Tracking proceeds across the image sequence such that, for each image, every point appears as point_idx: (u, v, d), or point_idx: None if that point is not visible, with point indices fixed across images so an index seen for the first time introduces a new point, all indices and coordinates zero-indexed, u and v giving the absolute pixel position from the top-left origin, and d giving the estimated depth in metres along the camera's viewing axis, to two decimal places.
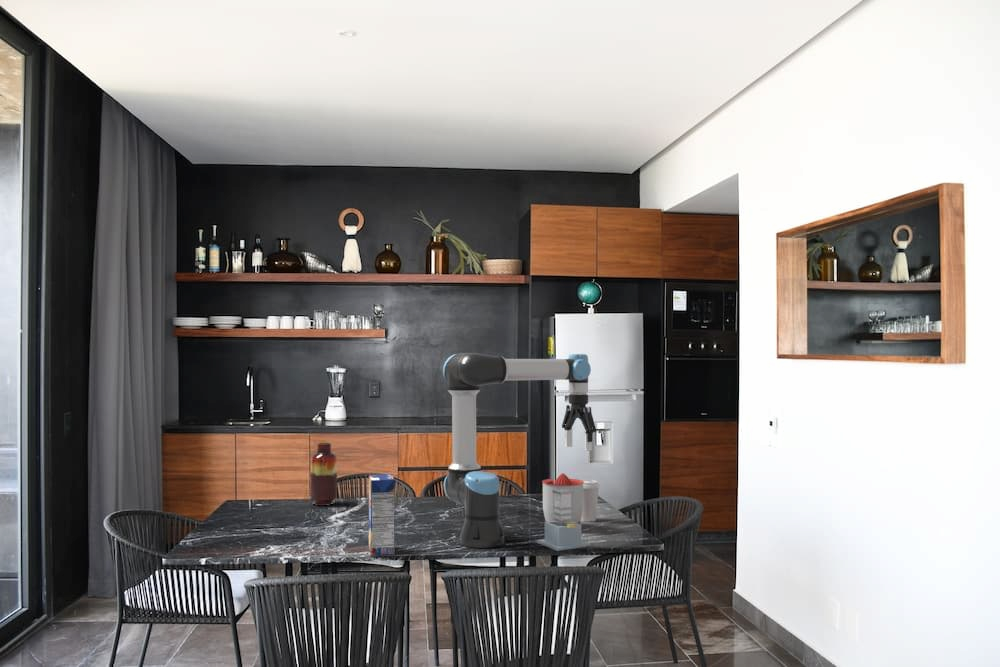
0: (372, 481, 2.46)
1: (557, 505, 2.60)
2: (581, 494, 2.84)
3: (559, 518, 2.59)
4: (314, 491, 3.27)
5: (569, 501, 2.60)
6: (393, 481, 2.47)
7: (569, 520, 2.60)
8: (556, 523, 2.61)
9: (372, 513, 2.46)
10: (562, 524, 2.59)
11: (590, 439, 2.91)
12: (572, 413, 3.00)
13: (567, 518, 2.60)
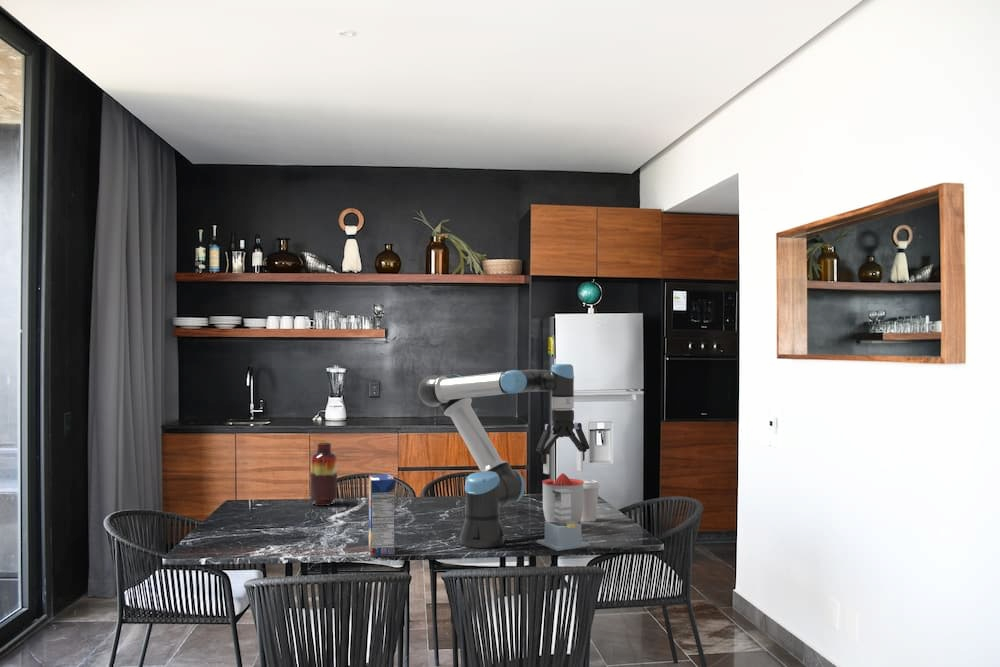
0: (372, 481, 2.46)
1: (557, 505, 2.60)
2: (581, 494, 2.84)
3: (559, 518, 2.59)
4: (314, 491, 3.27)
5: (569, 501, 2.60)
6: (393, 481, 2.47)
7: (569, 520, 2.60)
8: (556, 523, 2.61)
9: (372, 513, 2.46)
10: (562, 524, 2.59)
11: (542, 460, 2.58)
12: None
13: (567, 518, 2.60)
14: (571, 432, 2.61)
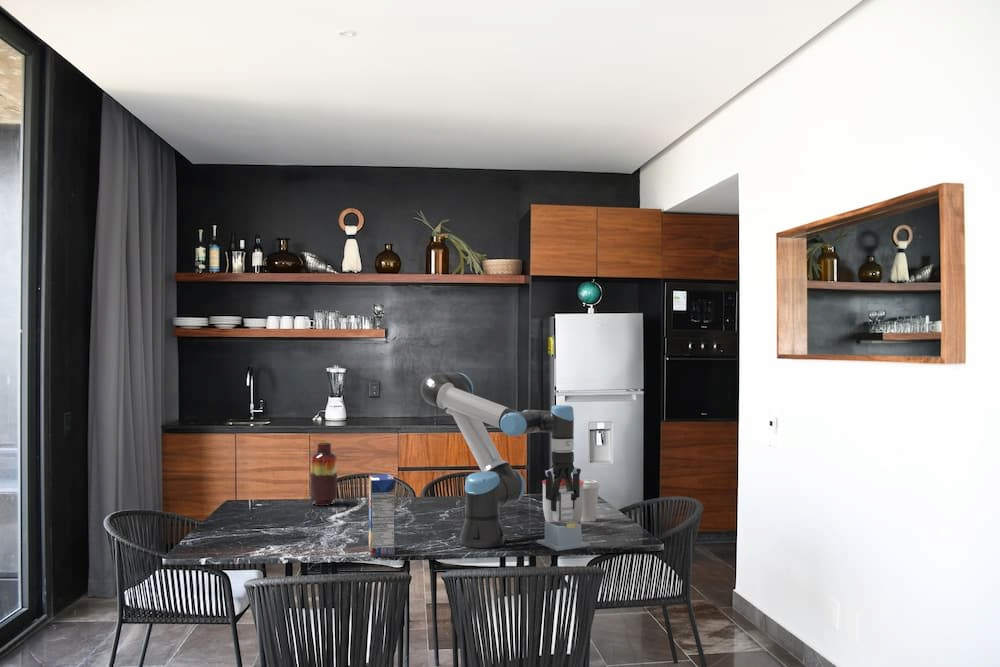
0: (372, 481, 2.46)
1: None
2: (581, 494, 2.84)
3: (559, 518, 2.59)
4: (314, 491, 3.27)
5: (569, 501, 2.60)
6: (393, 481, 2.47)
7: (569, 520, 2.60)
8: (556, 523, 2.61)
9: (372, 513, 2.46)
10: (562, 524, 2.59)
11: (551, 508, 2.59)
12: None
13: (567, 518, 2.60)
14: (569, 475, 2.61)
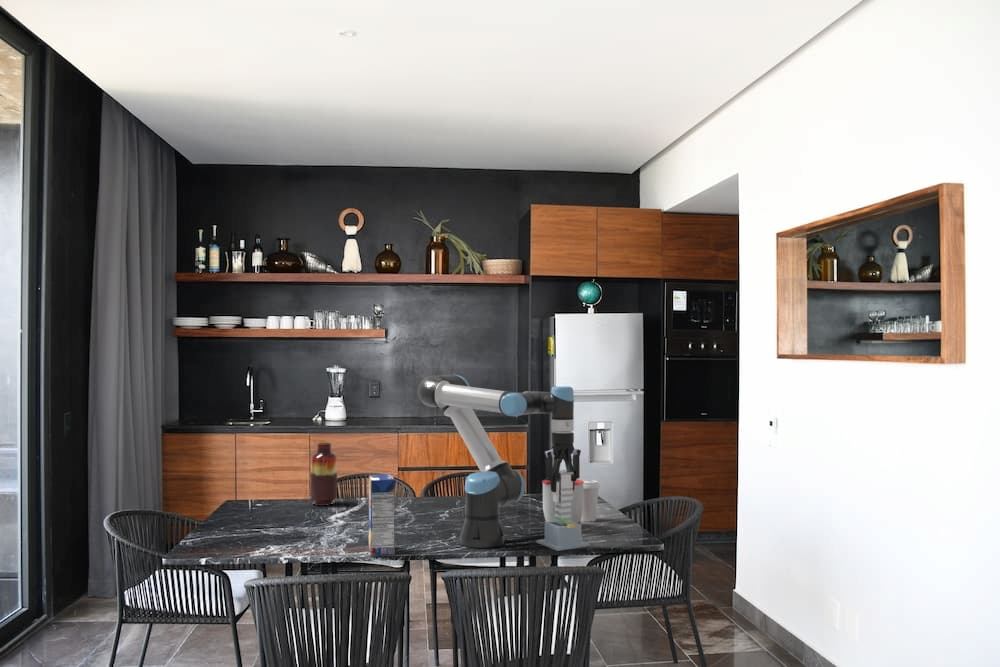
0: (372, 481, 2.46)
1: None
2: (581, 494, 2.84)
3: (559, 499, 2.59)
4: (314, 491, 3.27)
5: (569, 482, 2.60)
6: (393, 481, 2.47)
7: (569, 501, 2.60)
8: (556, 504, 2.61)
9: (372, 513, 2.46)
10: (562, 505, 2.59)
11: (551, 488, 2.59)
12: None
13: (567, 499, 2.60)
14: (569, 456, 2.61)
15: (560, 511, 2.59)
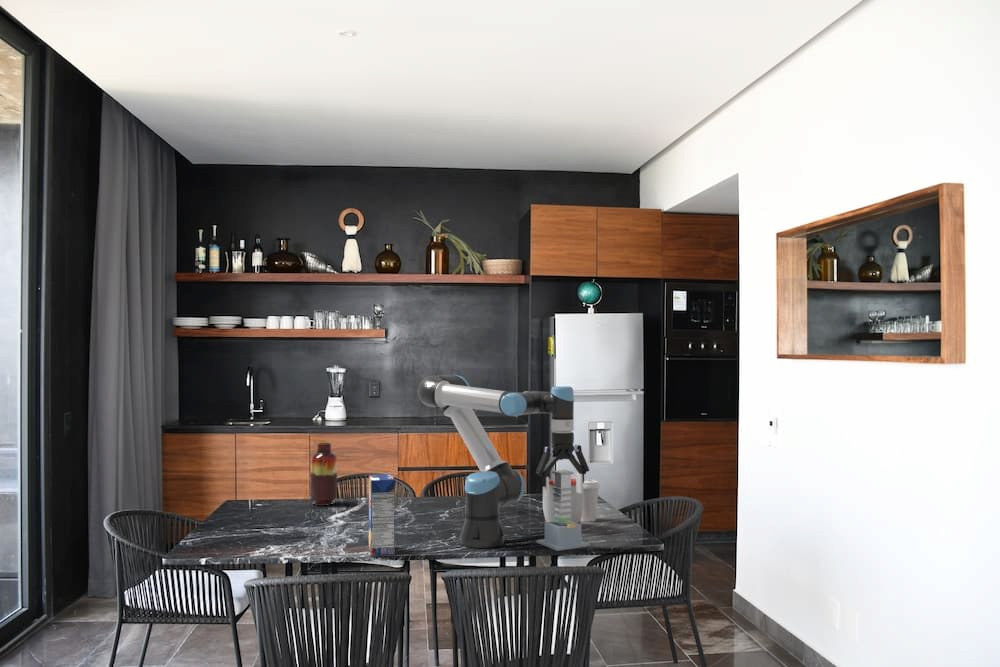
0: (372, 481, 2.46)
1: (557, 486, 2.61)
2: (581, 494, 2.84)
3: (559, 499, 2.59)
4: (314, 491, 3.27)
5: (569, 482, 2.60)
6: (393, 481, 2.47)
7: (569, 501, 2.60)
8: (556, 504, 2.61)
9: (372, 513, 2.46)
10: (562, 505, 2.59)
11: (541, 483, 2.58)
12: None
13: (567, 499, 2.60)
14: (571, 455, 2.61)
15: (560, 511, 2.59)
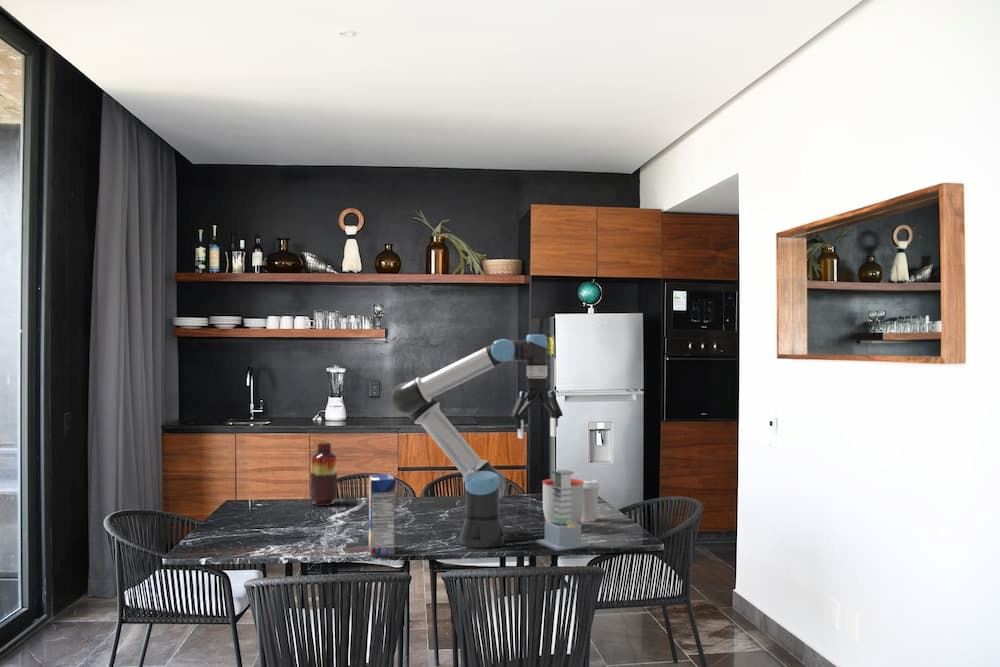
0: (372, 481, 2.46)
1: (557, 486, 2.61)
2: (581, 494, 2.84)
3: (559, 499, 2.59)
4: (314, 491, 3.27)
5: (569, 482, 2.60)
6: (393, 481, 2.47)
7: (569, 501, 2.60)
8: (556, 504, 2.61)
9: (372, 513, 2.46)
10: (562, 505, 2.59)
11: (516, 426, 2.71)
12: None
13: (567, 499, 2.60)
14: (545, 399, 2.74)
15: (560, 511, 2.59)
